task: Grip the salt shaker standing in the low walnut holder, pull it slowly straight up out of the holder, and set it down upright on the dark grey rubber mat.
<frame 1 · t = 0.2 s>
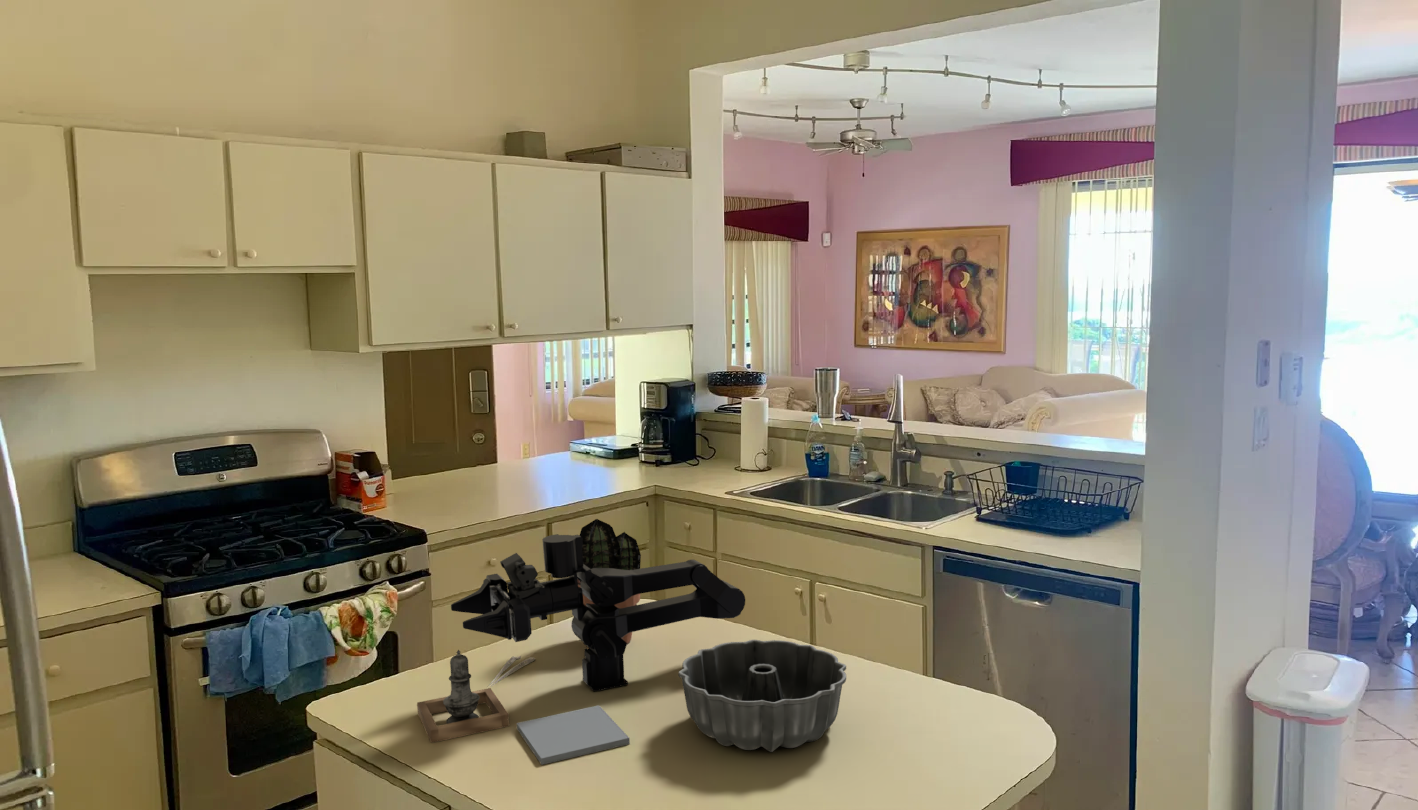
hand: (456, 616, 166), 17 cm above the table, fingers open, 9 cm apart
grey mat: (572, 736, 157), on the table
walnut holder: (462, 719, 165), on the table
bundt pan: (764, 729, 158), on the table
tweezers: (504, 679, 184), on the table
potted plant: (609, 642, 200), on the table
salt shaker: (462, 721, 165), resting in walnut holder
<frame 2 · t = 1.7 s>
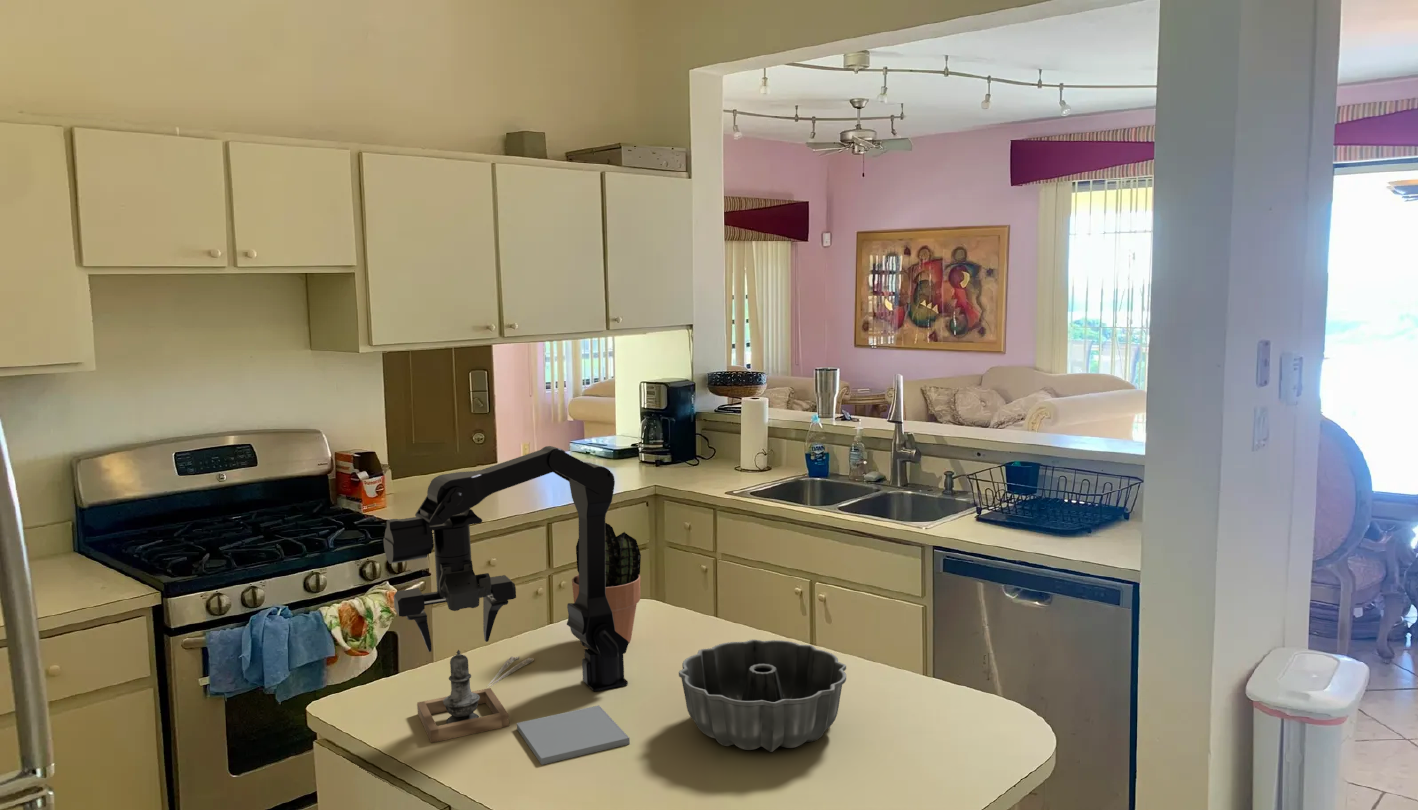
hand: (458, 646, 163), 13 cm above the table, fingers open, 9 cm apart
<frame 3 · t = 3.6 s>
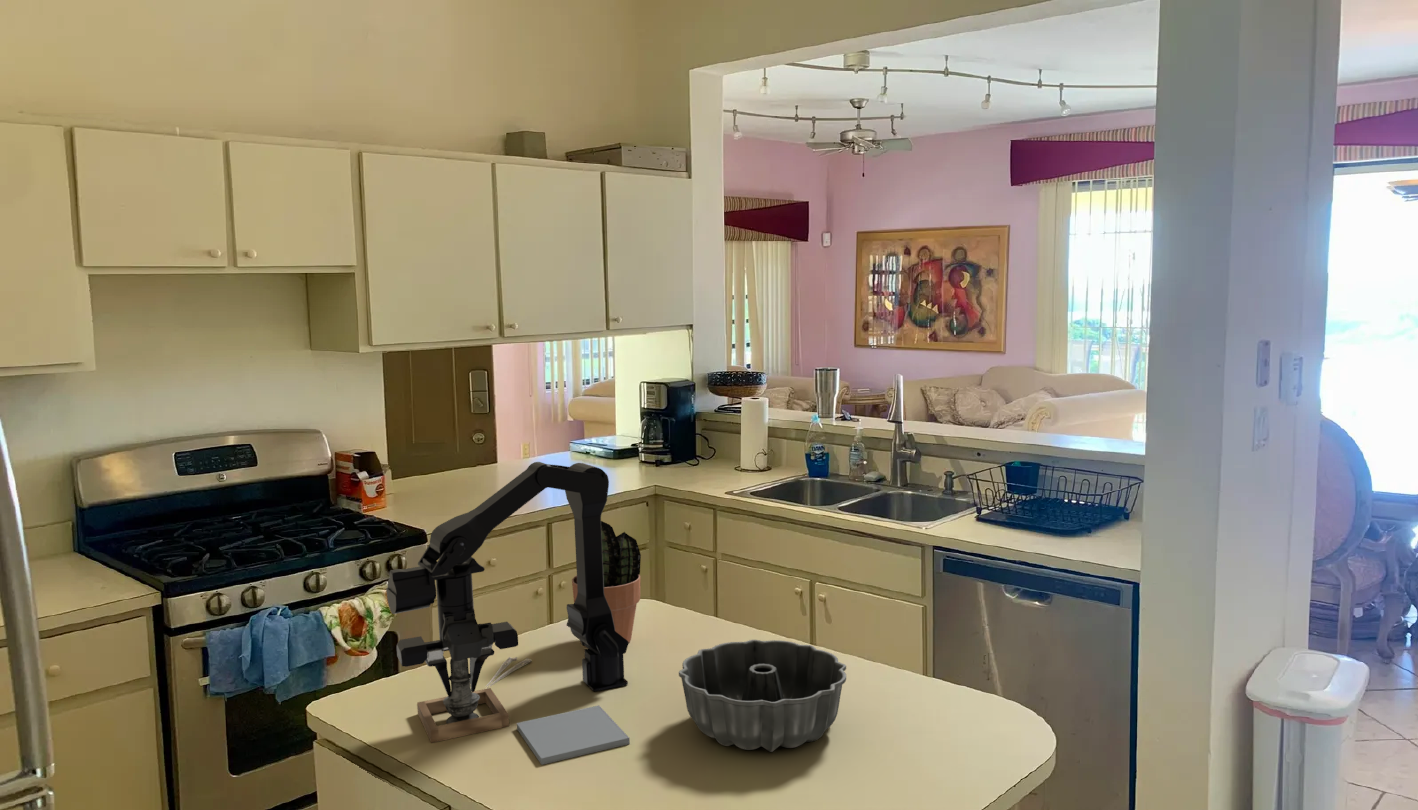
hand: (461, 693, 164), 5 cm above the table, fingers closed on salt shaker, 3 cm apart
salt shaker: (462, 720, 165), resting in walnut holder, touching gripper
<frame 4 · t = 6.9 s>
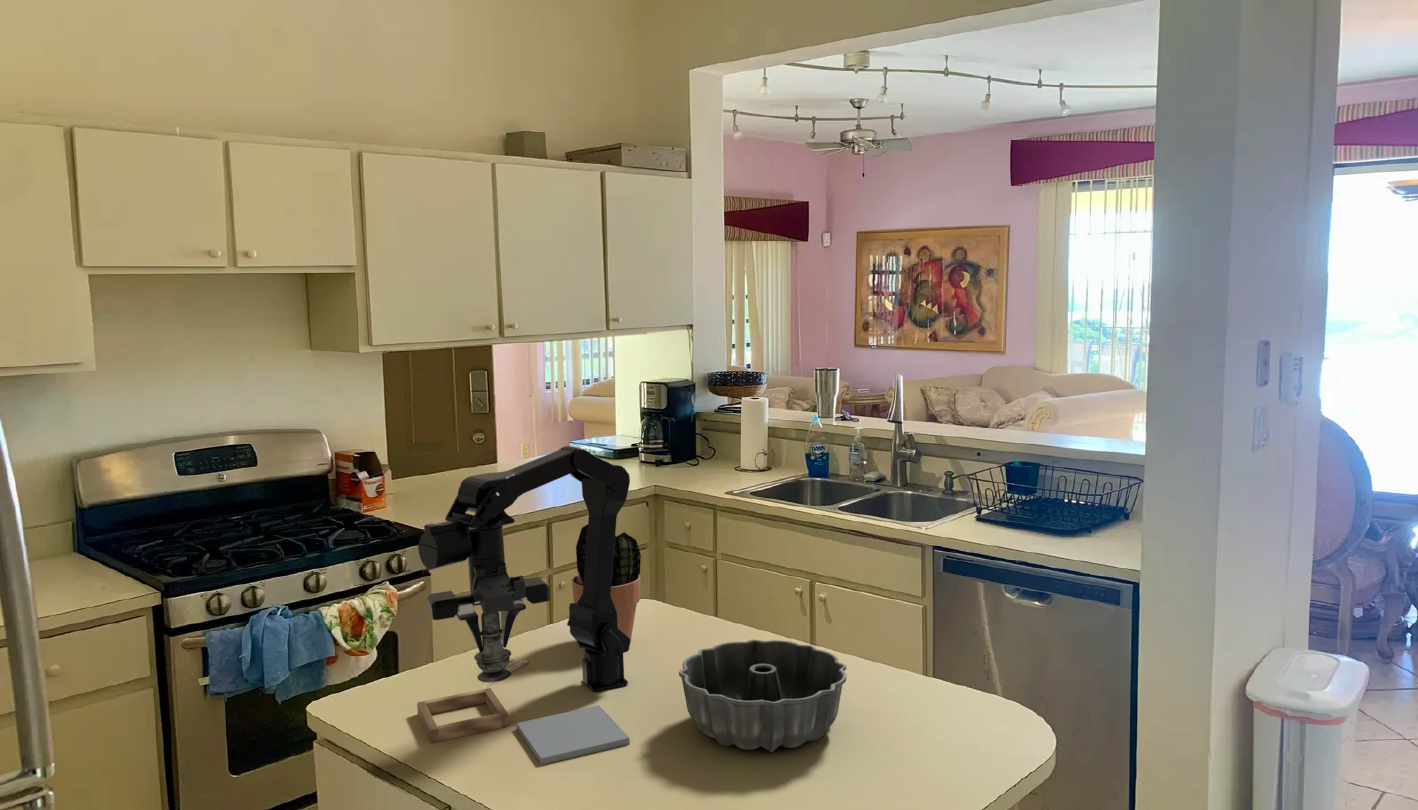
hand: (492, 649, 161), 13 cm above the table, fingers closed on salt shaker, 3 cm apart
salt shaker: (494, 677, 162), point 8 cm above the table, touching gripper
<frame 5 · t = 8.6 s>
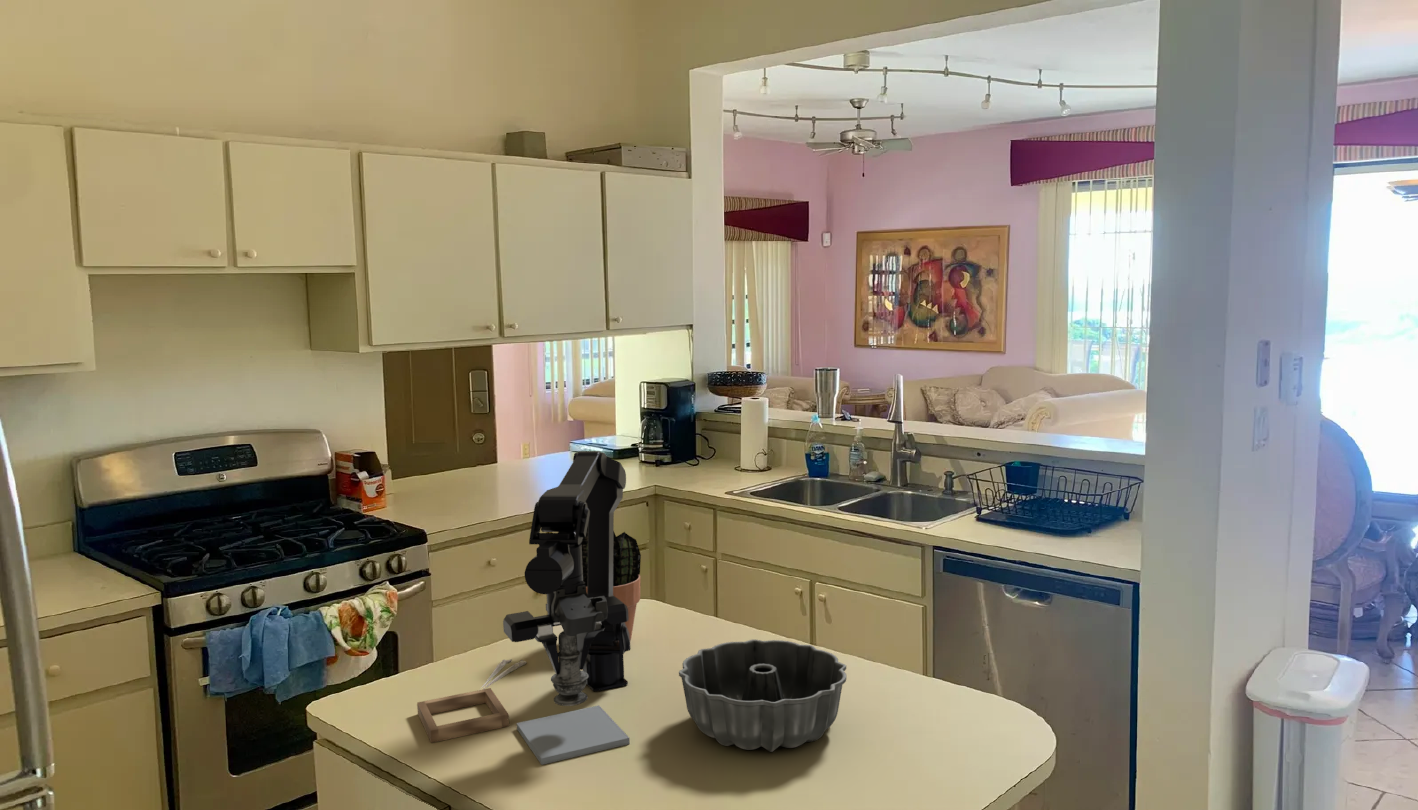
hand: (569, 671, 156), 11 cm above the table, fingers closed on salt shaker, 3 cm apart
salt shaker: (570, 700, 157), point 6 cm above the table, touching gripper
when the fingers open (6 cm above the table, at t = 10.2 s): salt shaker stays where it is, resting on grey mat.
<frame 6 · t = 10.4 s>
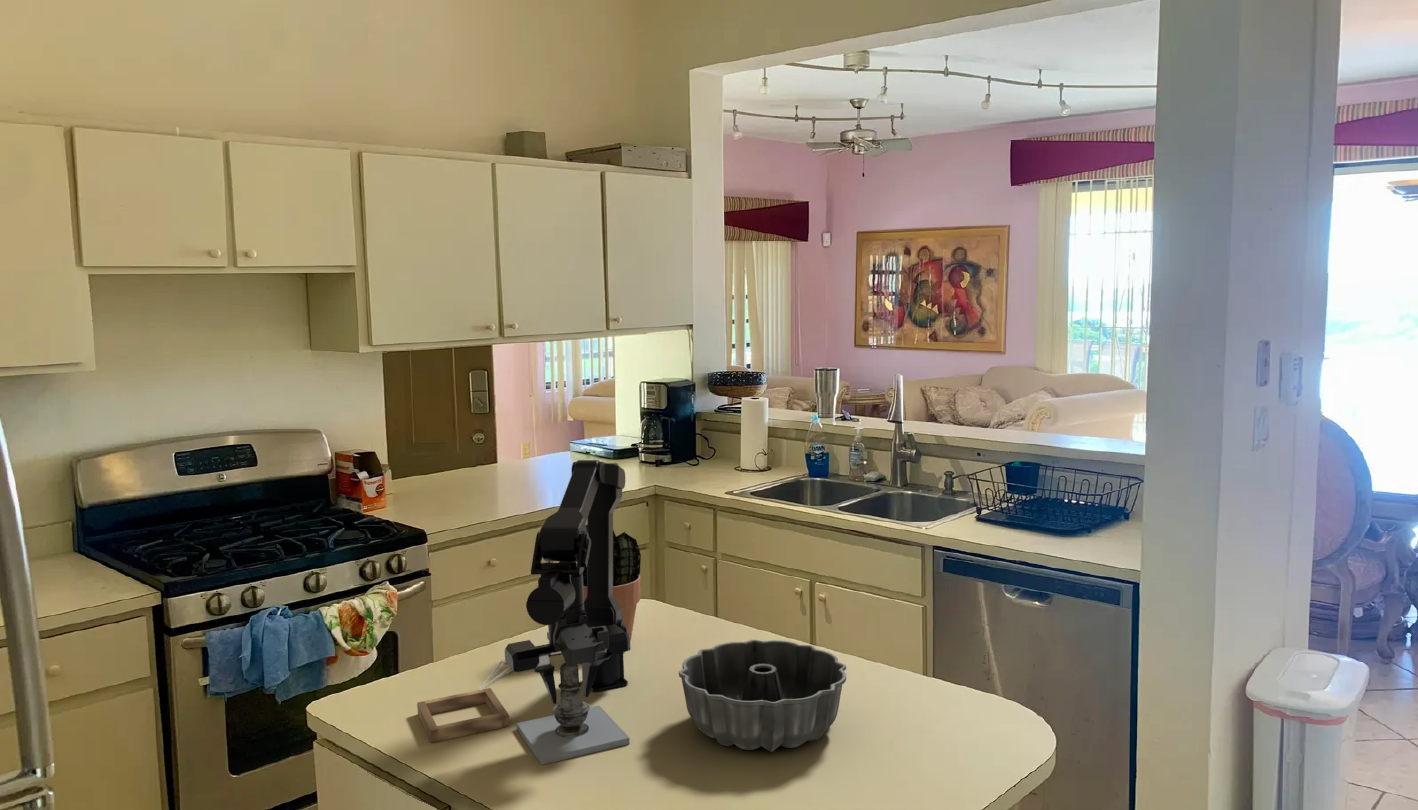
hand: (570, 699, 157), 6 cm above the table, fingers open, 5 cm apart
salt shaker: (572, 731, 157), point 1 cm above the table, touching grey mat
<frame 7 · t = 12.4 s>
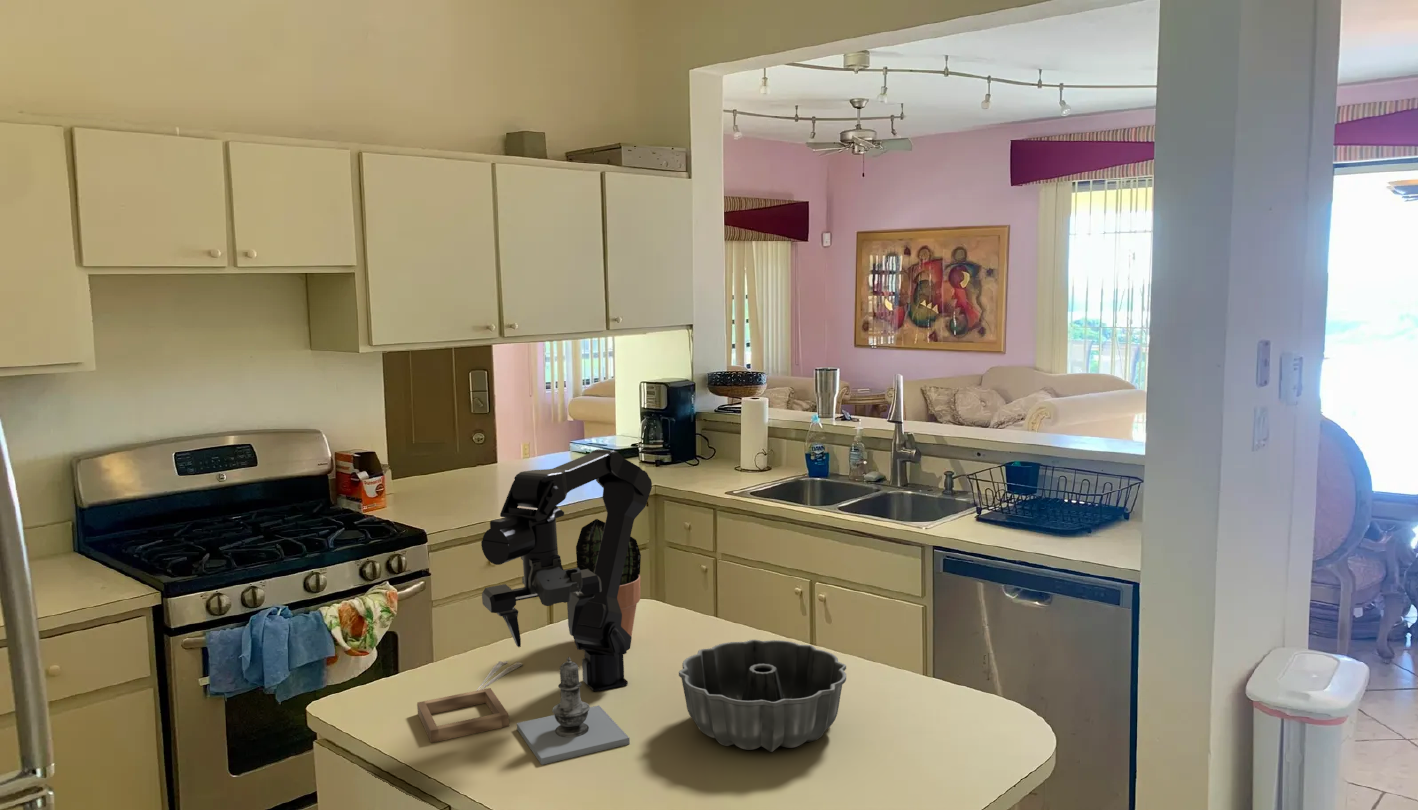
hand: (545, 640, 164), 13 cm above the table, fingers open, 9 cm apart
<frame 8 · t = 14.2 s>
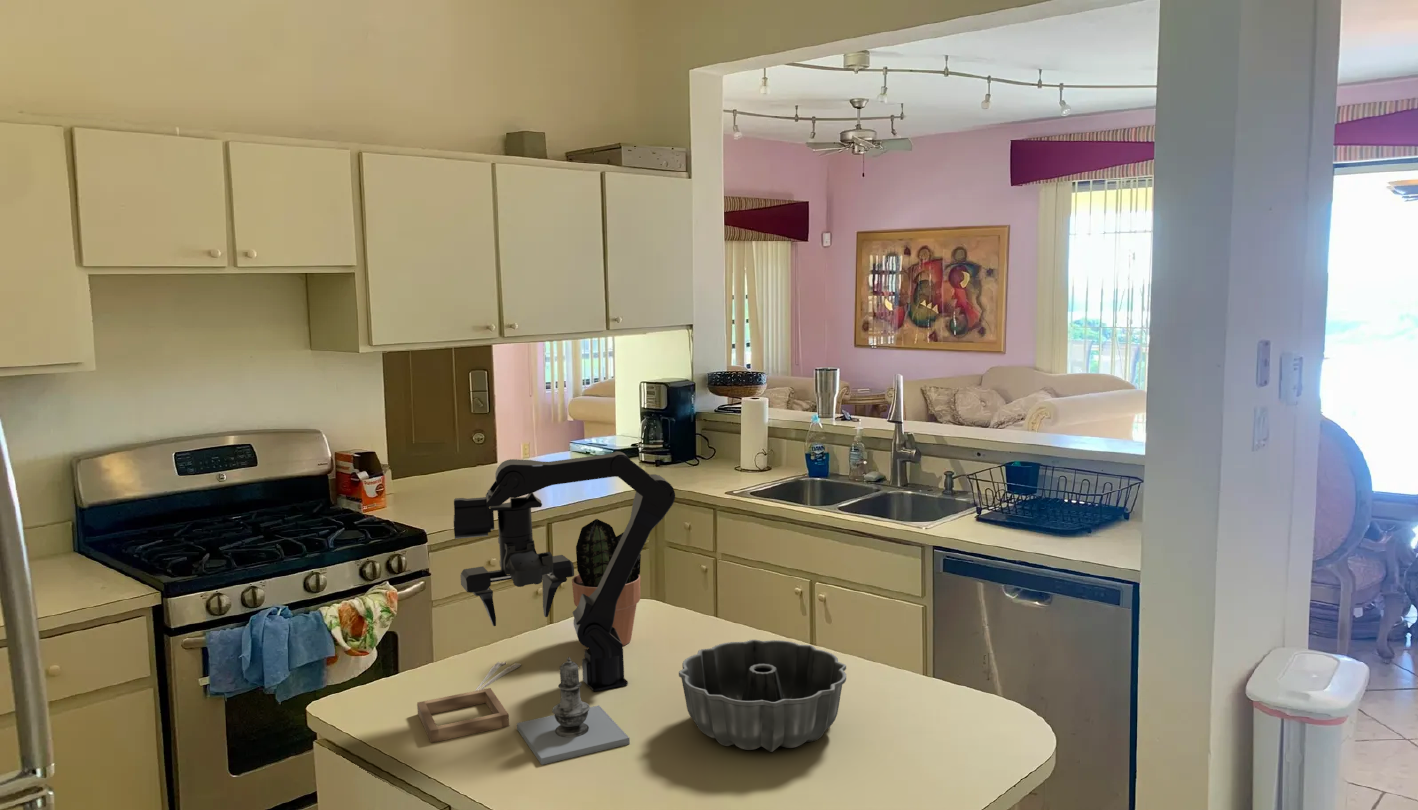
hand: (520, 621, 174), 13 cm above the table, fingers open, 9 cm apart
at the end: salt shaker inside the target area on the grey mat (0.1 cm from its centre), point 0.8 cm above the grey mat's base; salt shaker tilted 0°; the gripper is holding nothing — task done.
